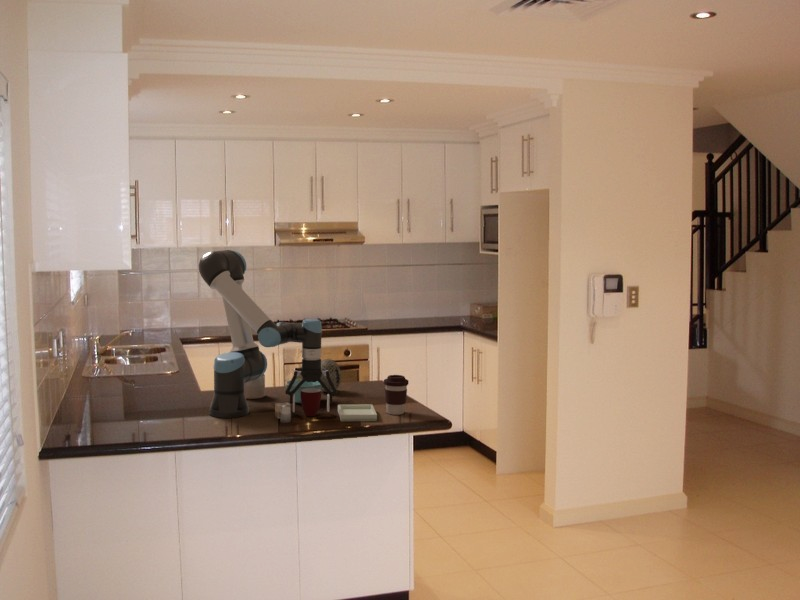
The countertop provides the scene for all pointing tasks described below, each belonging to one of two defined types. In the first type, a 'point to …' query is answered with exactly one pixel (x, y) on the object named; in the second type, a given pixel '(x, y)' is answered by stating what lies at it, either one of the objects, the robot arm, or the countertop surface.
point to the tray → (357, 412)
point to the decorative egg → (330, 373)
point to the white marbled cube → (277, 409)
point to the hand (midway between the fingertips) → (310, 411)
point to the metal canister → (285, 413)
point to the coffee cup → (395, 394)
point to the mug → (310, 401)
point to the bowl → (303, 386)
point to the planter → (255, 388)
